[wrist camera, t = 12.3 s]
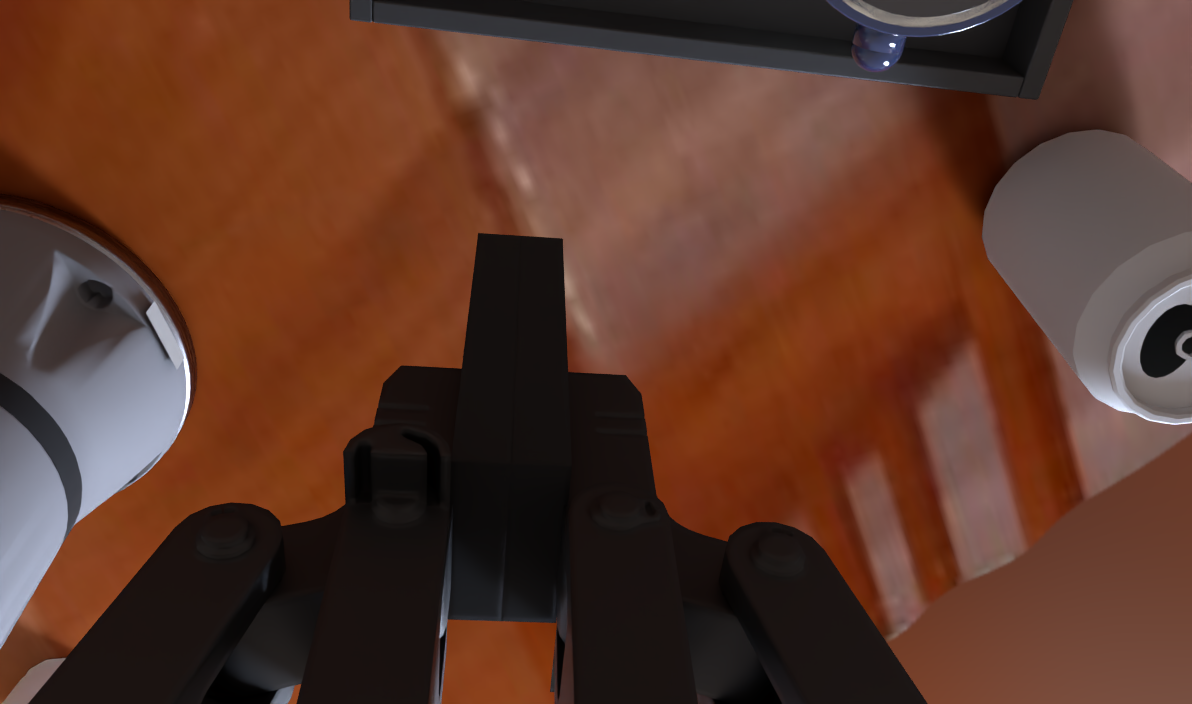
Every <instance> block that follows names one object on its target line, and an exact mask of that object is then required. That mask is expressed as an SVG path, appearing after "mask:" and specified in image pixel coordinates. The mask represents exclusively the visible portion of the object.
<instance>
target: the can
mask: <svg viewBox="0 0 1192 704" xmlns="http://www.w3.org/2000/svg"><path fill="white" fill-rule="evenodd" d="M982 238H983V242H984V245H985V249H986V253H987V256H988V259H989V261H990V262H991V263H992V264H993V266H994V267H995V268H996V270H997V271H998V272H999V274H1000V275H1001V276H1002V278H1003V279H1004V280H1005V282H1006V283H1007V284H1008V285H1009V287H1010V288H1011V289H1012V291H1013V292H1014V293H1015V295H1016V296H1017V297H1018V299H1019V300H1020V301H1021V303H1022V304H1023V305H1024V306H1025V308H1026V309H1027V310H1028V312H1029V313H1030V314H1031V316H1032V317H1033V318H1034V320H1035V321H1036V322H1037V324H1038V325H1039V326H1040V327H1041V329H1042V330H1043V331H1044V333H1045V334H1046V335H1047V337H1048V338H1049V339H1050V341H1051V342H1052V343H1053V345H1054V346H1055V347H1056V348H1057V350H1058V351H1059V352H1060V354H1061V355H1062V356H1063V358H1064V359H1065V360H1066V362H1067V363H1068V364H1069V366H1070V367H1071V368H1072V369H1073V371H1074V372H1075V373H1076V375H1077V376H1078V377H1079V379H1080V380H1081V381H1082V382H1083V384H1084V385H1085V386H1086V387H1087V389H1088V390H1089V391H1090V392H1091V394H1092V395H1093V396H1094V397H1095V398H1096V399H1098V400H1100V401H1102V402H1104V403H1106V404H1107V405H1109V406H1111V407H1113V408H1115V409H1117V410H1119V411H1125V412H1130V413H1135V414H1137V415H1139V416H1141V417H1142V418H1144V419H1146V420H1149V421H1155V422H1161V423H1167V424H1173V425H1174V424H1184V423H1192V183H1191V182H1190V181H1188V180H1187V179H1186V178H1184V177H1183V176H1182V175H1180V174H1179V173H1178V172H1177V171H1175V170H1174V169H1173V168H1171V167H1170V166H1169V165H1167V164H1166V163H1165V162H1163V161H1162V160H1161V159H1159V158H1158V157H1157V156H1155V155H1154V154H1153V153H1151V152H1150V151H1149V150H1147V149H1146V148H1145V147H1143V146H1142V145H1140V144H1138V143H1137V142H1135V141H1134V140H1132V139H1131V138H1129V137H1128V136H1126V135H1124V134H1119V133H1114V132H1109V131H1104V130H1099V129H1097V130H1088V131H1079V132H1070V133H1067V134H1064V135H1062V136H1059V137H1057V138H1054V139H1052V140H1049V141H1047V142H1044V143H1042V144H1040V145H1038V146H1037V147H1035V148H1034V149H1033V150H1031V151H1030V152H1029V153H1027V154H1026V155H1025V156H1023V157H1022V158H1020V159H1019V160H1018V161H1016V162H1015V163H1014V164H1013V165H1012V167H1011V168H1010V169H1009V170H1008V171H1007V173H1006V174H1005V175H1004V176H1003V178H1002V179H1001V180H1000V181H999V182H998V184H997V185H996V186H995V188H994V191H993V193H992V195H991V198H990V200H989V202H988V205H987V207H986V209H985V211H984V221H983V232H982Z"/></svg>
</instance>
